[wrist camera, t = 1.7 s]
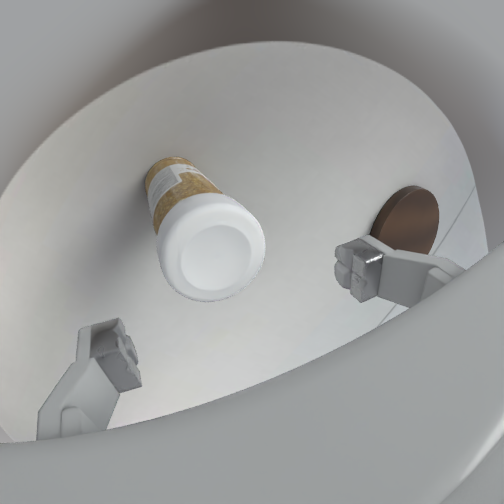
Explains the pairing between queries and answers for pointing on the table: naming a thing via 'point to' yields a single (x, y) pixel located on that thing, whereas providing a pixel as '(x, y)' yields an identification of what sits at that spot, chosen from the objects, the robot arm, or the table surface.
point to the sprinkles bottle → (201, 233)
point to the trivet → (408, 221)
